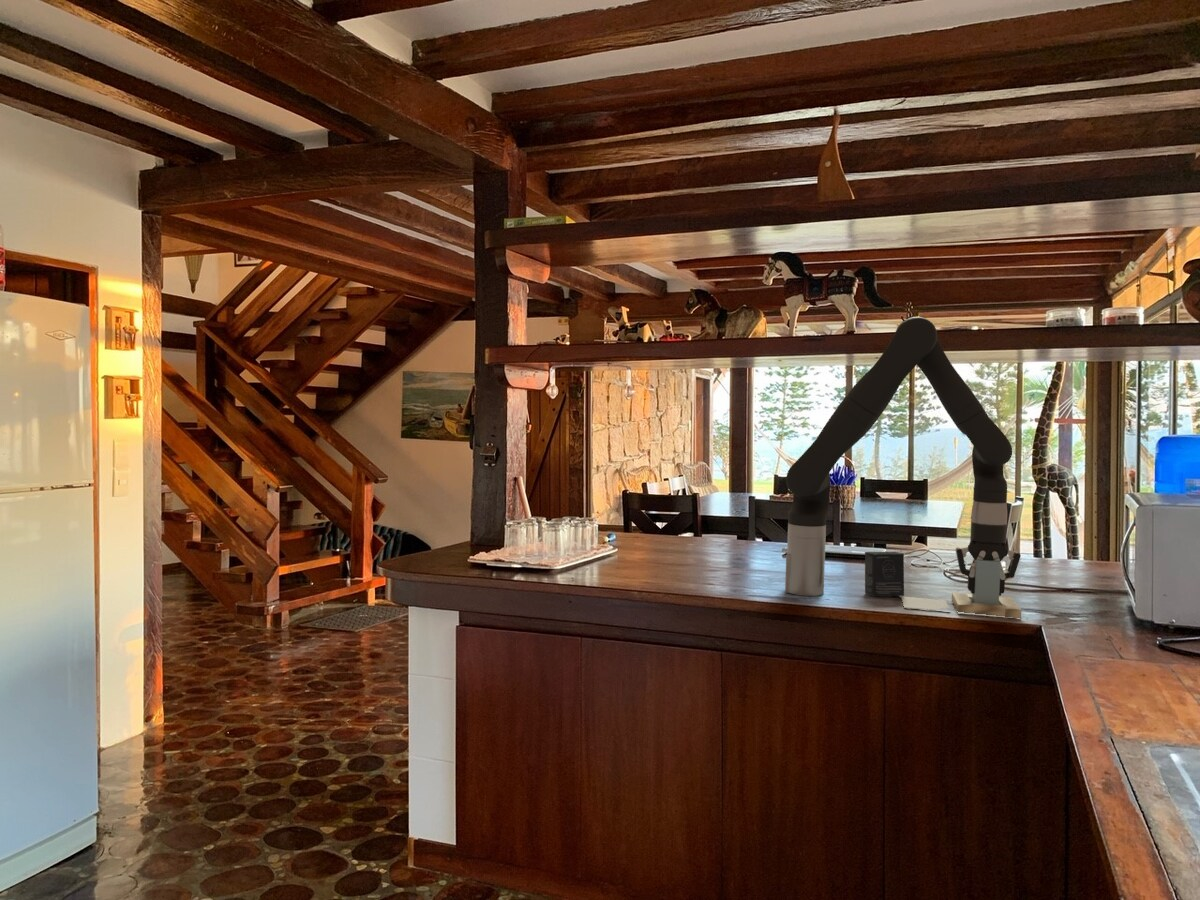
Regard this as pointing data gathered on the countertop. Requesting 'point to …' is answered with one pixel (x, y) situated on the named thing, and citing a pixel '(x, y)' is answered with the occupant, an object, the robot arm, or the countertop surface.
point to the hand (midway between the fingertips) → (985, 593)
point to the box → (884, 573)
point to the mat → (923, 603)
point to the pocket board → (986, 606)
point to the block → (987, 582)
